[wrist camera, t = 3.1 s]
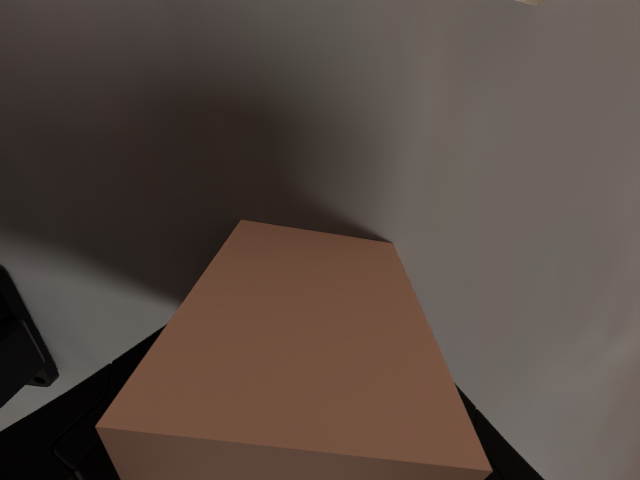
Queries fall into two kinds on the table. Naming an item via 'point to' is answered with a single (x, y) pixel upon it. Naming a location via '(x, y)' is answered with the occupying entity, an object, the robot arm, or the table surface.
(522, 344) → the table surface
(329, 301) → the terracotta block
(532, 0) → the birch base block
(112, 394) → the robot arm
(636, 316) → the table surface
